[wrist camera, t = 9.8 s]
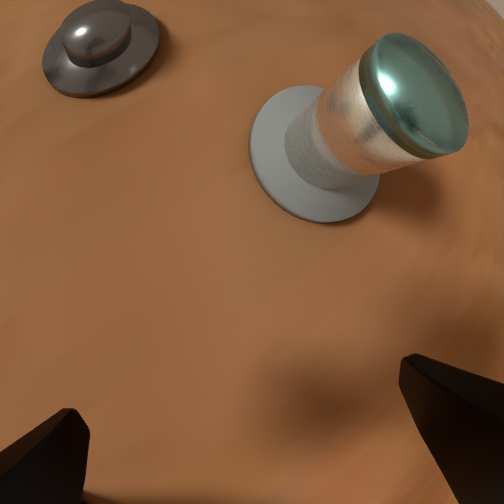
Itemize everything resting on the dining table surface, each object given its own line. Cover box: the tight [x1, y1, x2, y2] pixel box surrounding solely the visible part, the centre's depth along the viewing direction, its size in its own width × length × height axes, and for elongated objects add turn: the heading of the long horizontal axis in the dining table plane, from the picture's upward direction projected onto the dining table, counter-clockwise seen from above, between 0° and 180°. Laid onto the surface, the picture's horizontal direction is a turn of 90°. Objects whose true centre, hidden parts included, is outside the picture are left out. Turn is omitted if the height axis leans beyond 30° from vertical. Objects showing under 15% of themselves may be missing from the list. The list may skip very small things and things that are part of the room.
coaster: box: [249, 85, 380, 223], centre depth 18 cm, size 9×9×1 cm
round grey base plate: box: [42, 0, 159, 98], centre depth 13 cm, size 8×8×3 cm
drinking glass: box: [284, 33, 469, 190], centre depth 13 cm, size 5×5×9 cm
